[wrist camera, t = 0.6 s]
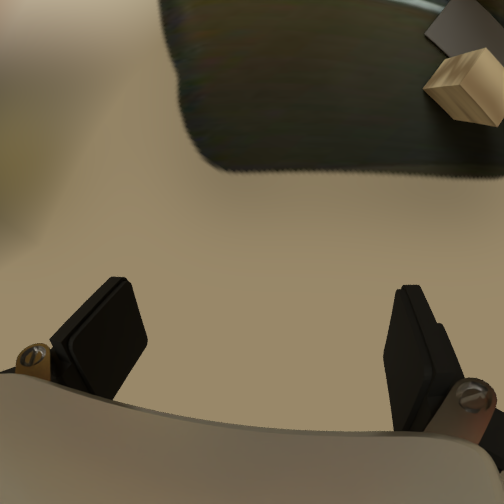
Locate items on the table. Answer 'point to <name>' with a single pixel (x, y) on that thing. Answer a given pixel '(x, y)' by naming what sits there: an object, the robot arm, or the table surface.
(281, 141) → the table surface
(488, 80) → the maple block
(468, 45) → the mat
